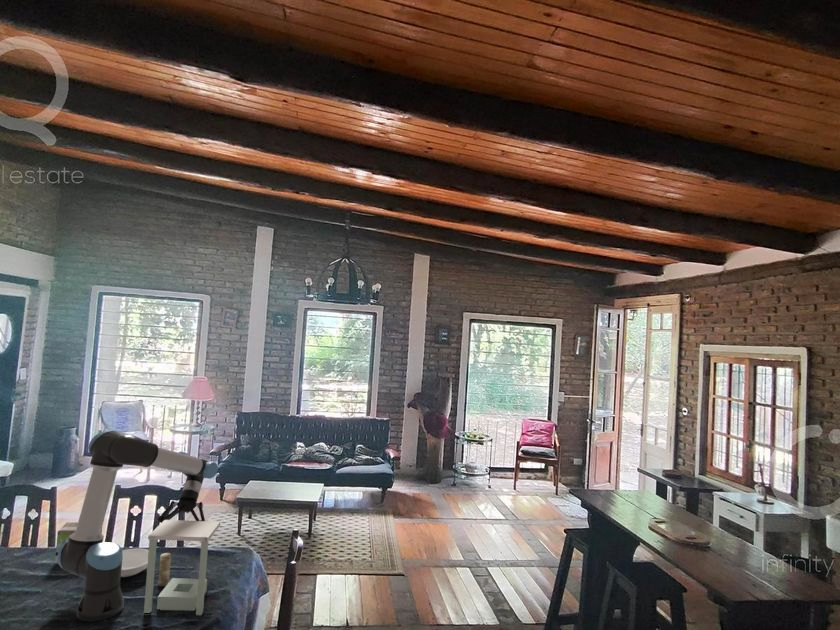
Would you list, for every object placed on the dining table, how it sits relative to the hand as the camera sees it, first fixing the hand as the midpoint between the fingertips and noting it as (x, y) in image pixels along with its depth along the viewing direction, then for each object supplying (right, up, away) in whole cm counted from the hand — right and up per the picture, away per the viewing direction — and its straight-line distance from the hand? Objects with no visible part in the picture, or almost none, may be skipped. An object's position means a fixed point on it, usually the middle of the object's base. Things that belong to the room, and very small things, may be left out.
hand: (176, 538), depth 225 cm
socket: (+13, -15, -23) cm, 30 cm away
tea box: (-47, -12, +5) cm, 48 cm away
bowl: (-19, -13, -4) cm, 23 cm away
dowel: (0, -14, -11) cm, 18 cm away
